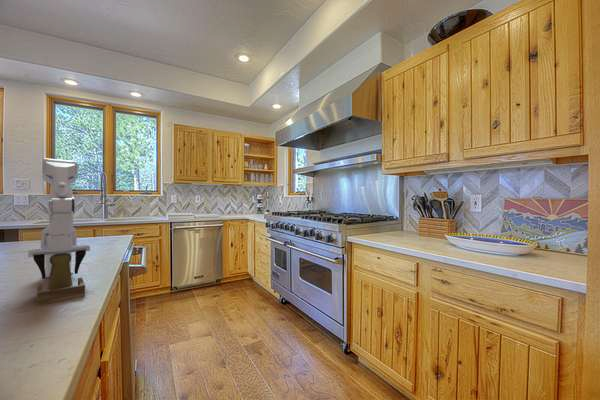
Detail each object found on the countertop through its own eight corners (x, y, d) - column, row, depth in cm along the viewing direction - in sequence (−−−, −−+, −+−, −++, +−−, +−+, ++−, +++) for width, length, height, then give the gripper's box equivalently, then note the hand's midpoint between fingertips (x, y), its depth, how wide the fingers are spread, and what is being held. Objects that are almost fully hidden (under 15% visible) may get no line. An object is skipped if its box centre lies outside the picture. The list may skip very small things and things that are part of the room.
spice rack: (37, 295, 75) (38, 284, 75) (81, 287, 82) (81, 277, 82) (36, 305, 68) (37, 293, 68) (84, 296, 75) (85, 285, 75)
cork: (56, 291, 79) (57, 256, 79) (42, 289, 80) (42, 255, 80) (77, 284, 85) (78, 252, 85) (63, 283, 86) (63, 251, 86)
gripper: (28, 237, 74) (27, 283, 74) (91, 233, 85) (90, 273, 85) (29, 235, 79) (28, 277, 79) (88, 231, 89) (88, 269, 89)
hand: (60, 275), depth 82 cm, fingers open, 7 cm apart
